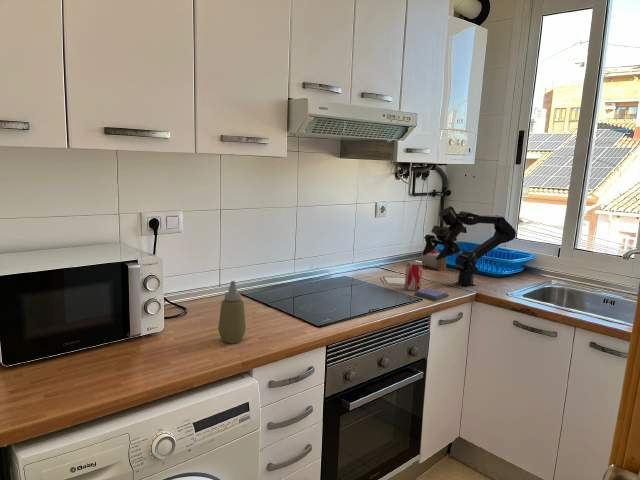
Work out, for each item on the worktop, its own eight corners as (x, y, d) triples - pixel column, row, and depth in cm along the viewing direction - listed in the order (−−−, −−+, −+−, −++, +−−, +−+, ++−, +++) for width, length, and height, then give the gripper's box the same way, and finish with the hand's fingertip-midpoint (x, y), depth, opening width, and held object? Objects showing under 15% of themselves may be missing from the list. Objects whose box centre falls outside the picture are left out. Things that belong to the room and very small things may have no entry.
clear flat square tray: (409, 278, 225) (409, 277, 225) (415, 286, 212) (415, 285, 211) (380, 277, 225) (380, 276, 225) (384, 284, 211) (384, 283, 211)
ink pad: (427, 291, 204) (427, 287, 204) (448, 296, 197) (448, 293, 197) (414, 295, 197) (414, 291, 197) (435, 300, 190) (436, 297, 190)
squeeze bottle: (212, 339, 139) (213, 280, 136) (235, 333, 145) (236, 276, 142) (228, 348, 133) (229, 286, 130) (251, 341, 139) (252, 282, 136)
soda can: (416, 292, 201) (418, 265, 199) (401, 289, 205) (403, 262, 203) (423, 289, 207) (425, 262, 205) (408, 286, 211) (411, 260, 209)
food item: (418, 265, 255) (420, 247, 254) (428, 264, 260) (430, 246, 258) (437, 271, 244) (439, 252, 243) (447, 269, 249) (449, 251, 247)
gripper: (429, 216, 215) (407, 240, 212) (458, 222, 199) (435, 248, 196) (440, 234, 220) (419, 257, 217) (470, 241, 204) (447, 266, 200)
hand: (429, 257), depth 207 cm, fingers open, 9 cm apart
